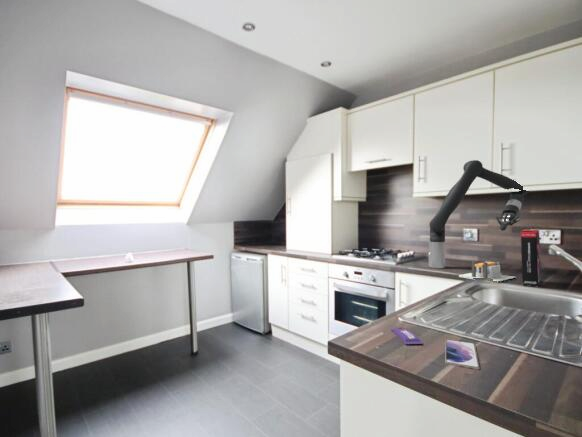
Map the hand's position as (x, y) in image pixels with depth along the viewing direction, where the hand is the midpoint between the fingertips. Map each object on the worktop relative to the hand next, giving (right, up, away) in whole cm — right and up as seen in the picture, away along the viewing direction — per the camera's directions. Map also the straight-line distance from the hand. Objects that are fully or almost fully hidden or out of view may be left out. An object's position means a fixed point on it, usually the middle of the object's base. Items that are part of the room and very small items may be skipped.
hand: (502, 229), depth 180 cm
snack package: (-90, -29, -91) cm, 131 cm away
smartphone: (-81, -28, -102) cm, 133 cm away
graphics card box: (-2, -27, -25) cm, 36 cm away
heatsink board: (-15, -27, -9) cm, 32 cm away
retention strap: (-9, -19, -5) cm, 22 cm away
